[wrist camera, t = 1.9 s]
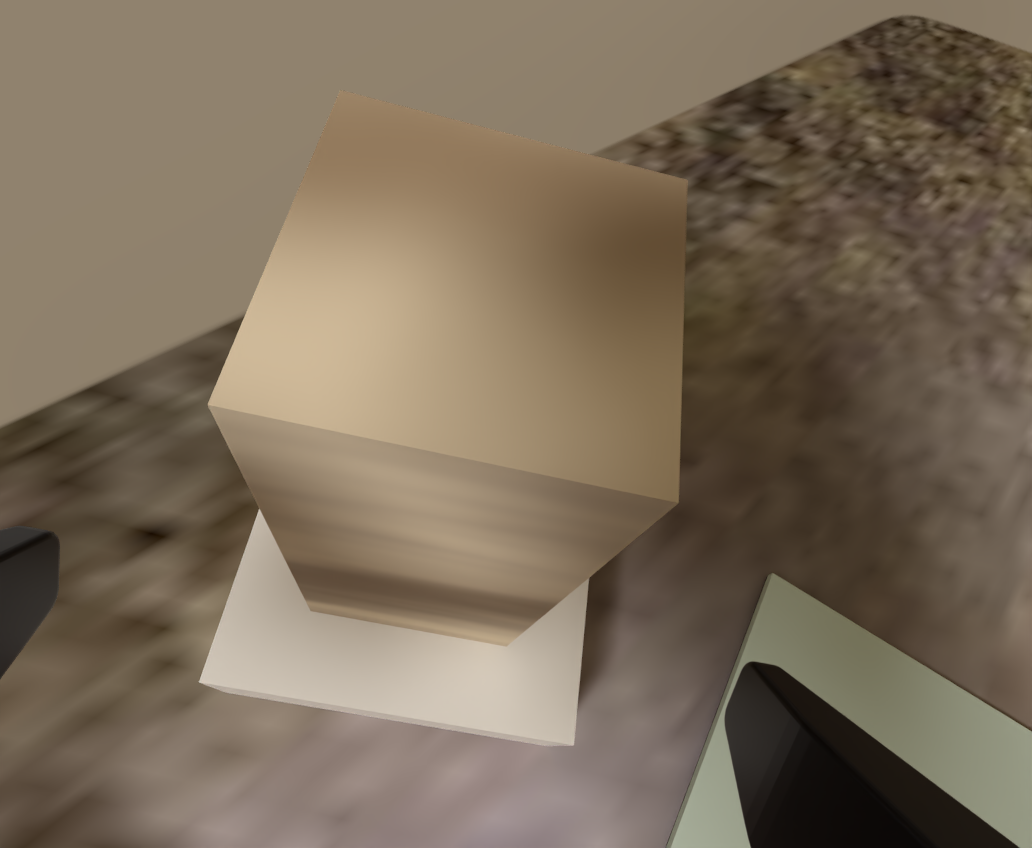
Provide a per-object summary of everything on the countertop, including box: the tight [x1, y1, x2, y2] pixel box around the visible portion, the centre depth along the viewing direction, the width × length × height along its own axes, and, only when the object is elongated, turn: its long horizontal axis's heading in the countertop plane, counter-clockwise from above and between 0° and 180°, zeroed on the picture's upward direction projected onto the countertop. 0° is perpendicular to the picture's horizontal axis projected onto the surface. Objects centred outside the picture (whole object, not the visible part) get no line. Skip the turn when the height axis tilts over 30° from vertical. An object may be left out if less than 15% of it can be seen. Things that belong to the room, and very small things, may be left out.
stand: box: [199, 509, 589, 746], centre depth 19 cm, size 9×9×3 cm
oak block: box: [208, 90, 688, 647], centre depth 13 cm, size 5×5×11 cm
